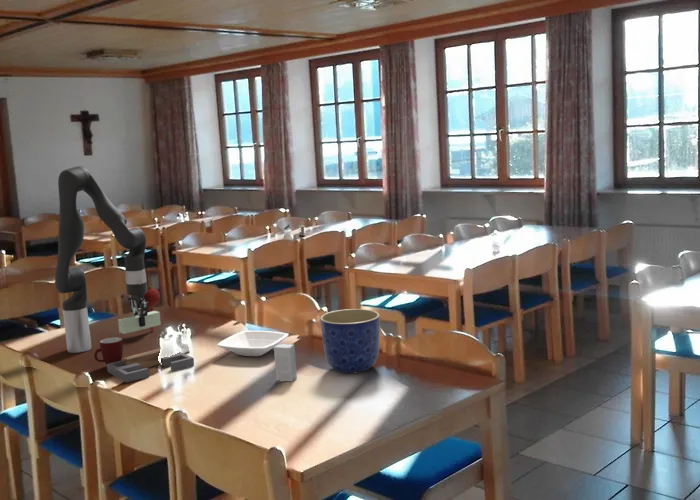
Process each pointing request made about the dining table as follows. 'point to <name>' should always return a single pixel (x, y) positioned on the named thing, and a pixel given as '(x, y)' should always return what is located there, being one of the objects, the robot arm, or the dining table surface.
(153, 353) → the walnut slat
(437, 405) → the dining table surface
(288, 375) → the skincare box
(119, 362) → the frame
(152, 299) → the lantern
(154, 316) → the sage slat
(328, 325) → the planter
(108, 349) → the mug
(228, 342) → the bowl
